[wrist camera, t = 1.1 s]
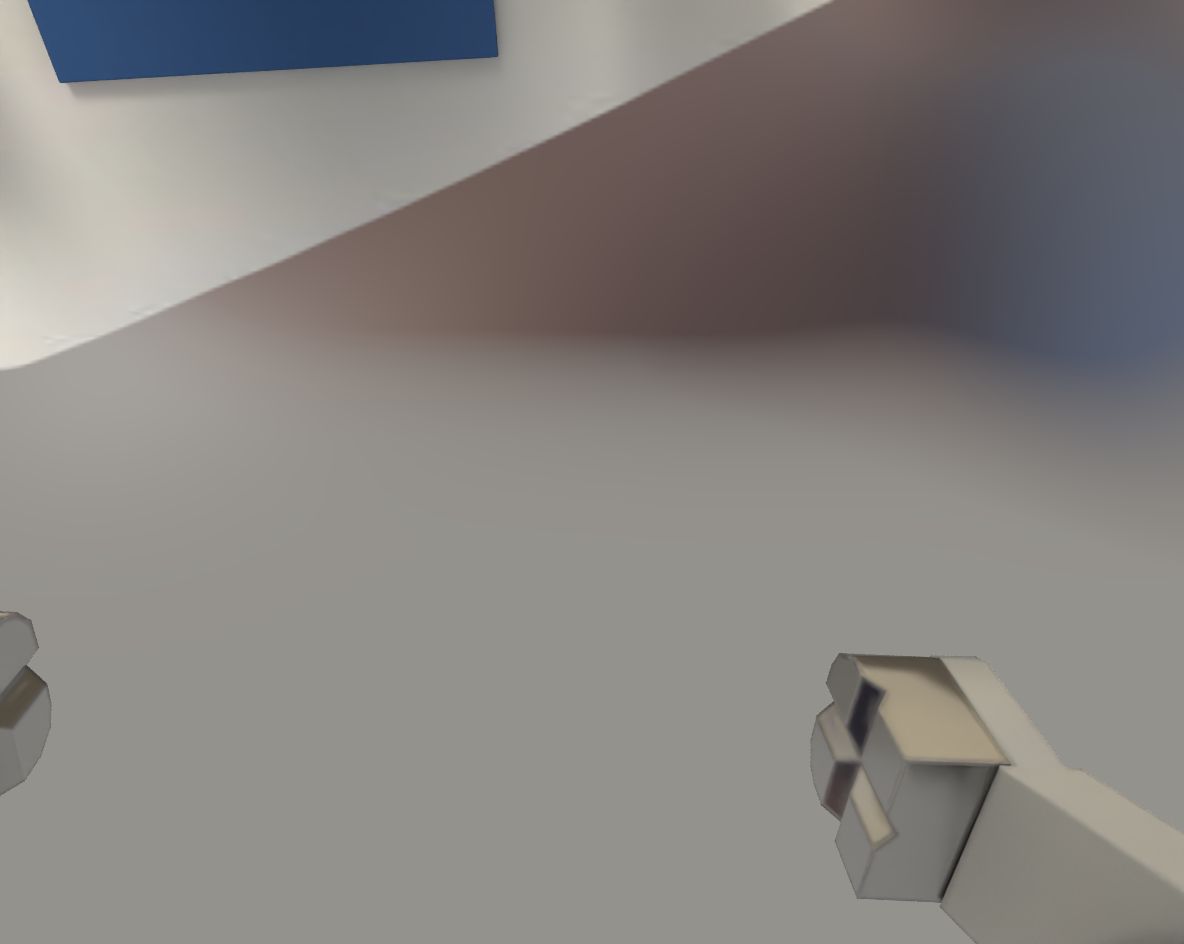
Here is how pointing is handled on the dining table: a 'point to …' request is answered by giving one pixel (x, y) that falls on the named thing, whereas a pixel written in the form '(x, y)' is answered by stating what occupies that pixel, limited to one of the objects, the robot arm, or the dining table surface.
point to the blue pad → (255, 35)
